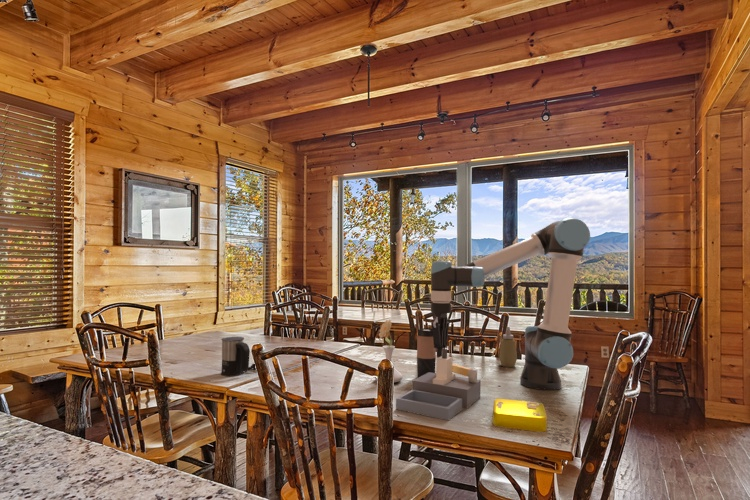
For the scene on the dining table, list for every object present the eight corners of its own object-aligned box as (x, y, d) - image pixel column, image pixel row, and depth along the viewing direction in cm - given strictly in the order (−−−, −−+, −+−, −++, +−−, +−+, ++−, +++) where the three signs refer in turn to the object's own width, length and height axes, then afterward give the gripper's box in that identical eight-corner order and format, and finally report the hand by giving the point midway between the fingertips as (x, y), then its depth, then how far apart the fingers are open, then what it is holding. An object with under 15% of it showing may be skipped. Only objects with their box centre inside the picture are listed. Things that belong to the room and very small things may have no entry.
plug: (455, 386, 158) (455, 347, 159) (443, 394, 149) (444, 352, 149) (444, 384, 160) (445, 346, 161) (432, 392, 151) (433, 351, 151)
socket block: (480, 397, 156) (480, 380, 156) (467, 408, 144) (467, 389, 144) (428, 388, 166) (428, 372, 167) (412, 397, 154) (412, 380, 155)
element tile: (494, 411, 143) (494, 396, 143) (543, 416, 139) (543, 401, 139) (492, 427, 129) (492, 411, 129) (547, 434, 124) (547, 417, 124)
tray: (462, 409, 143) (462, 398, 143) (448, 420, 133) (448, 408, 133) (412, 399, 152) (412, 389, 152) (396, 409, 142) (396, 398, 142)
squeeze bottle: (519, 365, 206) (519, 326, 206) (514, 368, 199) (514, 329, 199) (501, 363, 210) (502, 325, 210) (496, 366, 203) (497, 327, 204)
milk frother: (215, 375, 181) (216, 339, 181) (237, 366, 196) (238, 333, 196) (246, 378, 177) (246, 341, 177) (266, 369, 192) (267, 335, 192)
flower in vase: (374, 377, 181) (375, 316, 182) (402, 377, 181) (402, 317, 181) (373, 386, 168) (374, 320, 169) (403, 386, 168) (404, 321, 168)
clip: (479, 381, 153) (479, 370, 153) (473, 383, 151) (473, 371, 152) (442, 371, 167) (442, 360, 167) (436, 372, 165) (437, 361, 165)
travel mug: (434, 381, 177) (435, 331, 177) (415, 379, 178) (416, 330, 179) (436, 376, 184) (436, 328, 185) (417, 375, 186) (418, 327, 186)
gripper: (438, 300, 172) (437, 361, 171) (424, 302, 161) (424, 367, 160) (456, 301, 168) (456, 363, 167) (443, 303, 157) (443, 370, 156)
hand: (440, 365), depth 163 cm, fingers closed
